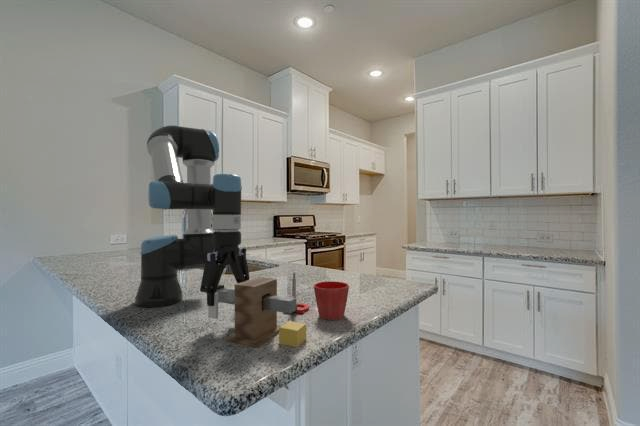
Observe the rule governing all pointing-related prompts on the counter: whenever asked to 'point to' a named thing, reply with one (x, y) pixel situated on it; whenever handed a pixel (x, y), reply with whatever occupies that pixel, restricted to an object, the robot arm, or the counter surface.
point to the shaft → (268, 300)
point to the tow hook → (300, 310)
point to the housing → (254, 312)
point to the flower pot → (331, 299)
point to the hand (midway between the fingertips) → (226, 311)
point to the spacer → (292, 333)
